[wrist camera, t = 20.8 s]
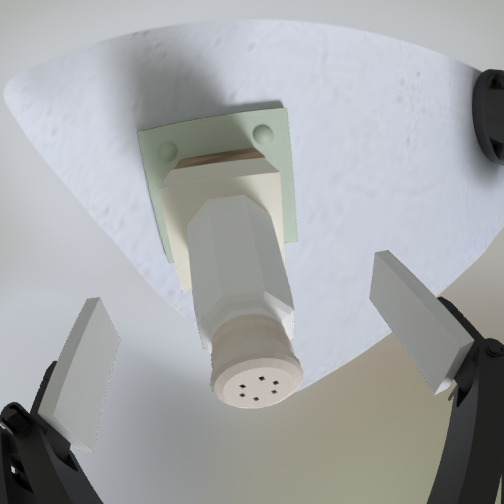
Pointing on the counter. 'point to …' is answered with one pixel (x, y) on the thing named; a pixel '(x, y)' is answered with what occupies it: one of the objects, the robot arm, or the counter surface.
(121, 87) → the counter surface
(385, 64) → the counter surface
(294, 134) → the counter surface
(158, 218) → the base plate
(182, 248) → the brick
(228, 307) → the pepper shaker
